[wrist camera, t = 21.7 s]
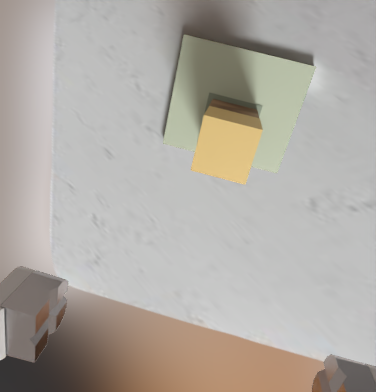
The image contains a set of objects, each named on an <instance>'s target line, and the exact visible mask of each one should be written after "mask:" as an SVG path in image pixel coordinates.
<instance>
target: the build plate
mask: <svg viewBox="0 0 376 392" xmlns="http://www.w3.org/2000/svg"><path fill="white" fill-rule="evenodd" d="M315 69H316V67H315V66H311V65H307V64H303V63H299V62H295V61H291V60H287V59H283V58H279V57H275V56H271V55H267V54H263V53H258V52H254V51H250V50H246V49H242V48H238V47H234V46H230V45H226V44H222V43H218V42H214V41H210V40H206V39H201V38H197V37H193V36H189V35H185V34H184V36H183V41H182V46H181V51H180V57H179V62H178V67H177V72H176V77H175V83H174V88H173V93H172V98H171V103H170V108H169V114H168V119H167V124H166V129H165V134H164V140H163V144H166V145H170V146H174V147H178V148H182V149H186V150H189V151H193V152H195V150H196V146H197V142H198V137H199V133H200V129H201V125H202V121H203V116H204V114H205V112H206V110H207V109H208V107H209V105H210V103H211V101H212V100H213V99H216V100H220V101H224V102H228V103H232V104H236V105H240V106H244V107H248V108H252V109H256V110H257V111H258V115H259V118H260V121H261V125H262V128H263V131H262V134H261V138H260V141H259V144H258V147H257V150H256V153H255V156H254V159H253V162H252V165H251V167H254V168H258V169H262V170H266V171H270V172H273V173H277V172H278V169H279V167H280V164H281V161H282V159H283V156H284V153H285V150H286V148H287V145H288V142H289V139H290V137H291V134H292V131H293V129H294V126H295V123H296V120H297V118H298V115H299V112H300V110H301V107H302V104H303V101H304V99H305V96H306V93H307V90H308V88H309V85H310V82H311V80H312V77H313V74H314V71H315Z"/></svg>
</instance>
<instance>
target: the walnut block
mask: <svg viewBox="0 0 376 392" xmlns="http://www.w3.org/2000/svg"><path fill="white" fill-rule="evenodd" d="M209 106H213V107H216V108H220V109H224V110H228V111H232V112H236V113H240V114H244V115H248V116H252V117H256V118H259V115H258V111H257V110H256V109H252V108H248V107H244V106H240V105H236V104H232V103H228V102H224V101H220V100H216V99H213V100H212V101H211V103H210V105H209Z"/></svg>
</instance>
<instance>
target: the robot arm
mask: <svg viewBox="0 0 376 392" xmlns="http://www.w3.org/2000/svg"><path fill="white" fill-rule="evenodd" d="M67 290H68V281H67V280H66V279H62V278H59V277H56V276H53V275H49V274H46V273H43V272H40V271H35V270H32V269H29V268H26V267H23V266H20V267H18V268H16V269H15V270H13V271H12V272H11V273H10V274H9V275H8V276H7V277H6V278H5V279H4V280H3V281H2V282H1V283H0V360H2V359H3V358H5V357H6V355H8V356H12V357H16V358H19V359H23V360H27V361H31V362H35V361H36V360H37V358H38V357H39V355H40V354H41V352H42V351H43V349H44V348H45V346H46V345H47V343H48V335H49V334H51V333H53V332H55V331H56V330H57V328H58V327H59V325H60V324H61V321H62V319H63V317H64V314H65V311H66V306H67V300H66V298H65V297H64V294H65V293H66V292H67ZM324 366H325V369H324V370H322V371H319V372H318V373H317V375H316V376H315V378H314V381H313V386H312V392H376V366H372V365H368V364H363V363H361V362H357V361H354V360H350V359H346V358H343V357H339V356H335V355H332V354H331V355H329V356H327V358H326V359H325V361H324Z"/></svg>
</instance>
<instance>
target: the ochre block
mask: <svg viewBox="0 0 376 392" xmlns="http://www.w3.org/2000/svg"><path fill="white" fill-rule="evenodd" d="M262 131H263V128H262V125H261V121H260V118H256V117H252V116H248V115H244V114H240V113H236V112H232V111H228V110H224V109H220V108H216V107H213V106H209V107H208V109H207V110H206V112H205V114H204V116H203V121H202V125H201V129H200V133H199V137H198V142H197V146H196V150H195V154H194V158H193V162H192V167H191V170H192V171H195V172H199V173H203V174H207V175H211V176H214V177H218V178H222V179H226V180H230V181H233V182H237V183H241V184H246V181H247V178H248V175H249V171H250V168H251V165H252V162H253V159H254V156H255V153H256V150H257V147H258V144H259V141H260V138H261V134H262Z"/></svg>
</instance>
